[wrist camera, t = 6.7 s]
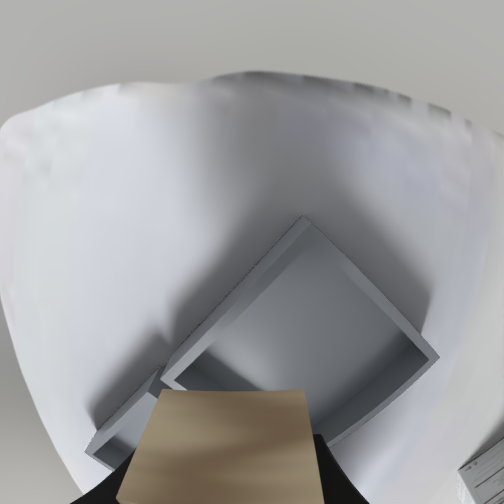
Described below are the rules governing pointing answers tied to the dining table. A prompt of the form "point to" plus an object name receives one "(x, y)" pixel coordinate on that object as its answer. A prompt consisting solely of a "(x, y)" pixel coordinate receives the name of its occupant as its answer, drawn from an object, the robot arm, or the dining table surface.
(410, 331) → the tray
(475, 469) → the supplement box
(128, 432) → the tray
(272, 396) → the letter cube
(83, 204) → the dining table surface
